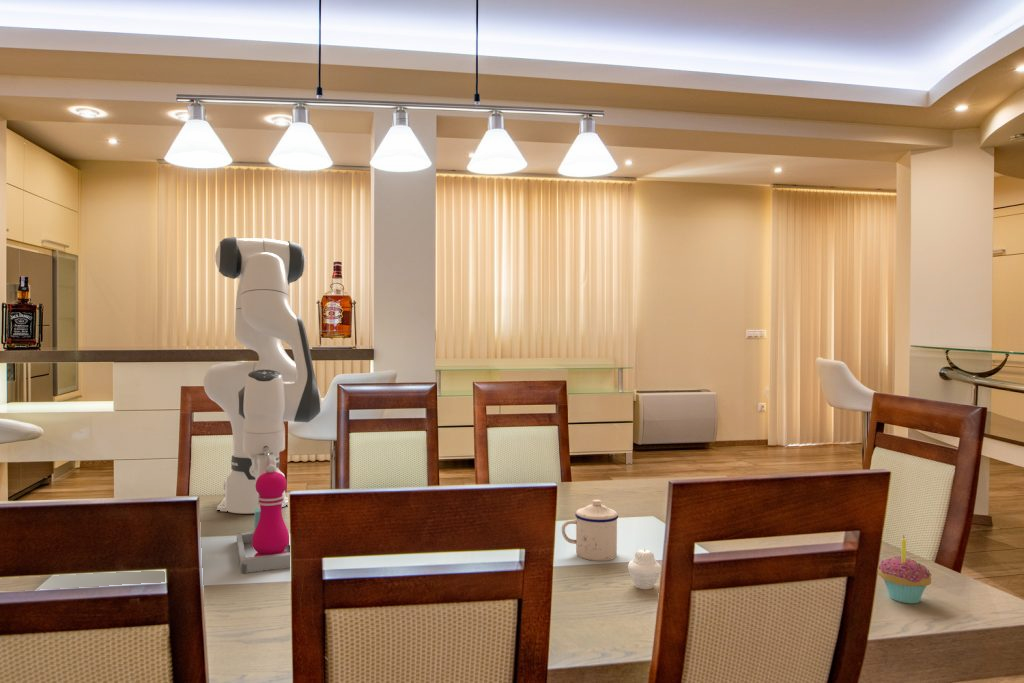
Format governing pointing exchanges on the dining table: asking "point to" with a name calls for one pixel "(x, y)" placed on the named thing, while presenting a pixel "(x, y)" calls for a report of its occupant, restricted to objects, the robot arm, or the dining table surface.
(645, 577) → the small white lidded pot
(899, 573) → the cupcake
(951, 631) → the dining table surface
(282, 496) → the pepper mill
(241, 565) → the grey rectangular frame
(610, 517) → the teacup with lid
